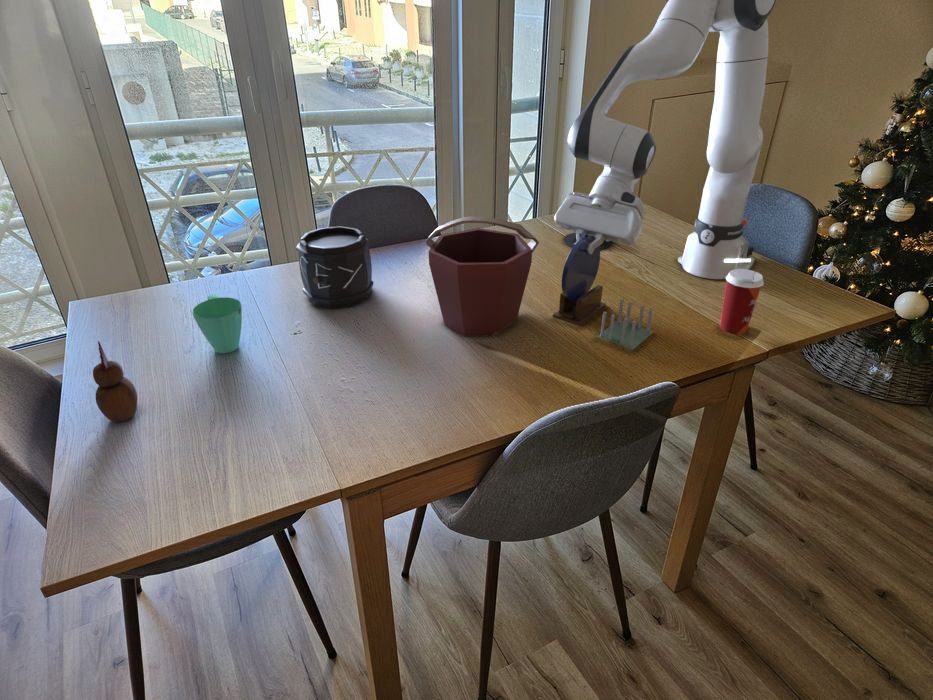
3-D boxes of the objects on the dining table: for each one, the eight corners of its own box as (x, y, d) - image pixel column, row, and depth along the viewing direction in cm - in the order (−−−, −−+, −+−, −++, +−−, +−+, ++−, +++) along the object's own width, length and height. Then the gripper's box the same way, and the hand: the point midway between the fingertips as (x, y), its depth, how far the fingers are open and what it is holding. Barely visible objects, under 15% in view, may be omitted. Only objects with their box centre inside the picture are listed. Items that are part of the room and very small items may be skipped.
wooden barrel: (288, 304, 153) (278, 245, 145) (328, 277, 168) (320, 221, 160) (350, 316, 147) (343, 255, 139) (386, 287, 162) (381, 230, 154)
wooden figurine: (114, 406, 117) (89, 337, 109) (146, 404, 117) (123, 335, 109) (99, 427, 111) (71, 357, 103) (132, 426, 111) (107, 355, 103)
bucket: (544, 311, 149) (550, 210, 136) (511, 353, 132) (514, 243, 119) (453, 293, 158) (451, 198, 145) (411, 331, 141) (405, 227, 128)
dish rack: (616, 323, 143) (620, 296, 139) (652, 335, 138) (657, 307, 134) (595, 340, 136) (598, 312, 133) (632, 353, 131) (636, 324, 128)
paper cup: (753, 341, 135) (768, 283, 128) (716, 338, 137) (730, 280, 129) (746, 324, 142) (761, 268, 135) (712, 322, 143) (724, 266, 136)
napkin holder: (580, 301, 153) (583, 277, 150) (605, 309, 149) (608, 284, 146) (552, 320, 145) (554, 295, 141) (578, 329, 141) (580, 303, 138)
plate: (592, 286, 150) (598, 228, 142) (597, 287, 150) (603, 229, 142) (559, 309, 141) (563, 249, 133) (564, 311, 140) (568, 250, 132)
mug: (253, 352, 133) (244, 311, 128) (206, 363, 129) (195, 322, 124) (242, 324, 144) (233, 285, 139) (197, 334, 141) (187, 294, 136)
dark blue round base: (601, 254, 180) (603, 236, 177) (555, 244, 187) (556, 227, 184) (620, 238, 191) (622, 221, 188) (575, 230, 198) (577, 213, 195)
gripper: (565, 182, 143) (539, 234, 142) (646, 199, 132) (619, 255, 131) (573, 197, 148) (548, 246, 147) (652, 214, 137) (626, 268, 136)
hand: (582, 251), depth 139 cm, fingers closed on plate, 1 cm apart
